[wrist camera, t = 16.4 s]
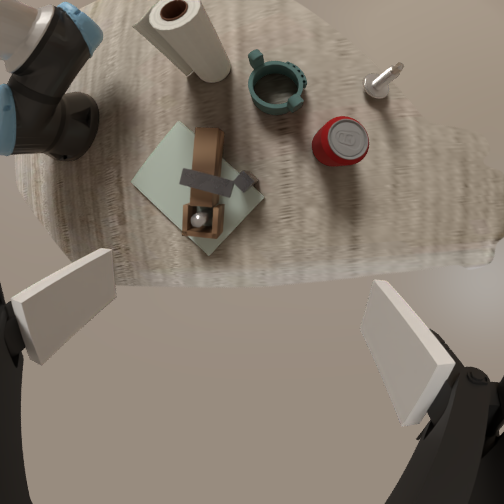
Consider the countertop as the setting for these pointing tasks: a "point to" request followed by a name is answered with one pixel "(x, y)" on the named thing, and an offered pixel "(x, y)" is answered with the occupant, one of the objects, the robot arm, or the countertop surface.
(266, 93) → the countertop surface
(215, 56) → the paper towel roll
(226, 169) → the base board
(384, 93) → the screw
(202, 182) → the keeper
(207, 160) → the link
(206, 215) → the cylinder
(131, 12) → the countertop surface
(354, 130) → the beverage can
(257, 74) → the teal hollow cylinder
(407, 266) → the countertop surface
